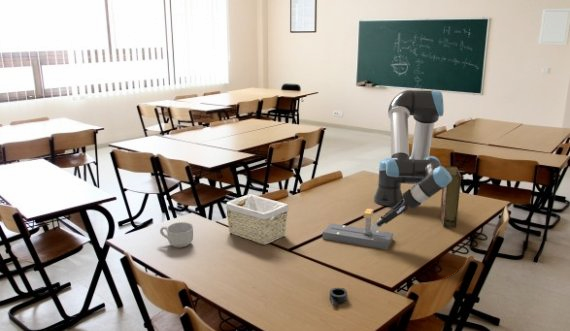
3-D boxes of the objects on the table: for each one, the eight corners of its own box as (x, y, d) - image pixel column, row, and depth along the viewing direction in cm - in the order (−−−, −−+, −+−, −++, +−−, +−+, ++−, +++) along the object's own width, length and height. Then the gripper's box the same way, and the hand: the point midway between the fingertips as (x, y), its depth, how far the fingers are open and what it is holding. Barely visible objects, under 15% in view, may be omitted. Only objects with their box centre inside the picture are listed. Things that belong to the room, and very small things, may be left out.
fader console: (392, 239, 204) (393, 232, 203) (387, 249, 194) (387, 242, 194) (330, 229, 215) (330, 223, 214) (322, 238, 205) (322, 231, 204)
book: (439, 215, 233) (444, 165, 226) (451, 216, 232) (456, 166, 225) (443, 227, 217) (448, 175, 211) (456, 228, 216) (461, 175, 210)
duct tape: (319, 300, 157) (319, 292, 156) (340, 290, 163) (341, 283, 162) (335, 310, 151) (335, 302, 151) (357, 300, 157) (357, 292, 157)
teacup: (198, 241, 202) (197, 223, 200) (185, 251, 192) (184, 233, 190) (170, 237, 206) (169, 219, 204) (155, 247, 196) (154, 229, 194)
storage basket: (225, 233, 211) (223, 201, 207) (250, 222, 223) (249, 192, 219) (265, 247, 196) (264, 214, 192) (289, 235, 208) (290, 204, 204)
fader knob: (372, 231, 204) (373, 209, 202) (369, 236, 199) (370, 213, 196) (365, 230, 205) (367, 208, 203) (362, 235, 200) (363, 212, 198)
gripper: (412, 184, 196) (370, 216, 207) (406, 193, 185) (362, 227, 195) (424, 198, 196) (381, 229, 206) (419, 208, 184) (375, 241, 195)
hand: (372, 228), depth 201 cm, fingers closed
